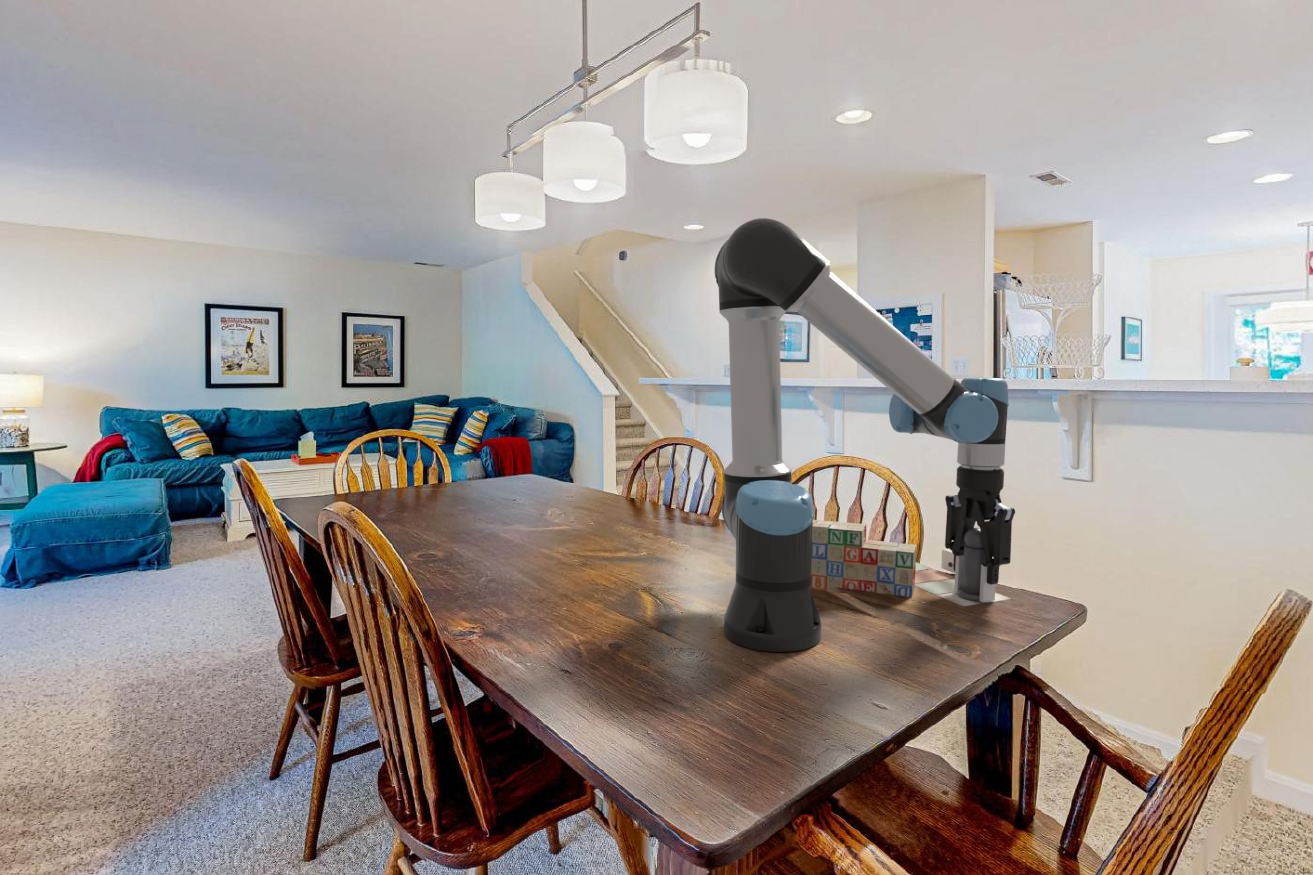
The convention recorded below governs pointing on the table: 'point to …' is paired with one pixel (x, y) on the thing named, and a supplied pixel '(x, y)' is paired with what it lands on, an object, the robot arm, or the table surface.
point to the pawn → (972, 566)
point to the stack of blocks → (859, 561)
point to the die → (947, 560)
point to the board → (943, 585)
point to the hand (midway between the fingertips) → (974, 595)
